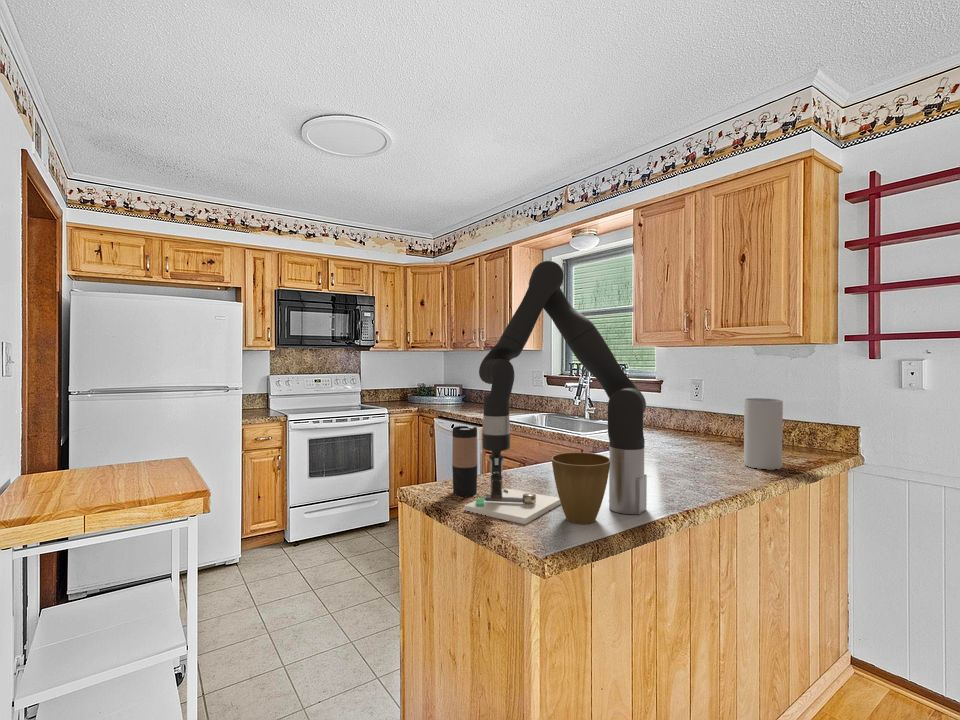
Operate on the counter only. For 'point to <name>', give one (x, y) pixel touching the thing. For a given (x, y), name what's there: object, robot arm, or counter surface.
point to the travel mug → (464, 460)
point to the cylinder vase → (763, 433)
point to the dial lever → (527, 497)
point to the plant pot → (580, 484)
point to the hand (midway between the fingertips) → (496, 490)
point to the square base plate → (513, 507)
